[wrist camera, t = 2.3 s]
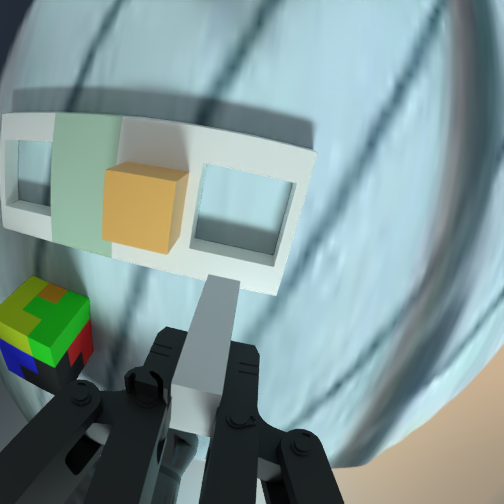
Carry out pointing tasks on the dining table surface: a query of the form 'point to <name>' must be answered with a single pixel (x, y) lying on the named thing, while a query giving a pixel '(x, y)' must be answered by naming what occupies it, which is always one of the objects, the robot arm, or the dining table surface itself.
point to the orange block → (143, 206)
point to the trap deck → (156, 154)
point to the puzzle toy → (45, 334)
